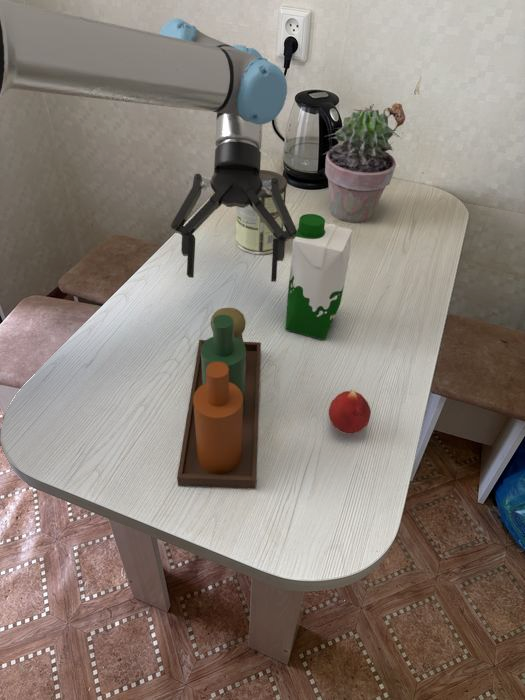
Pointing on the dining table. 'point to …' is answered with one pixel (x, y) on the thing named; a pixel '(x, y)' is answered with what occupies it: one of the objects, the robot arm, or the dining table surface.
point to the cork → (237, 321)
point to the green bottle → (225, 352)
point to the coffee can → (259, 220)
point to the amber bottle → (218, 421)
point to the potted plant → (361, 163)
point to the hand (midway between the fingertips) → (232, 278)
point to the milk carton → (316, 275)
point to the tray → (247, 468)
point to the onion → (349, 412)
